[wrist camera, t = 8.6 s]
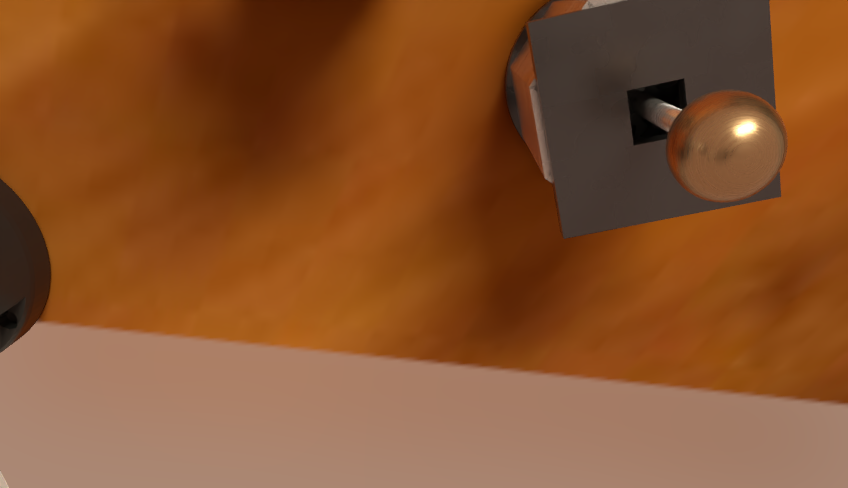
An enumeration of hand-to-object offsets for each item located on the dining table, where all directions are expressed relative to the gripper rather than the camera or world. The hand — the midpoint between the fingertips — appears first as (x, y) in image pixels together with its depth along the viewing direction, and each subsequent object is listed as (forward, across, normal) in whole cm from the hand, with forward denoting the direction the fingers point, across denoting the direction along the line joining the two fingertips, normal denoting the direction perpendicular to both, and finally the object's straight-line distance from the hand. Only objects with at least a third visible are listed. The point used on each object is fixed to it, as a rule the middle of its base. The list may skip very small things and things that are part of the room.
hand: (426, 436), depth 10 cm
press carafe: (+34, +10, 0) cm, 36 cm away
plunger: (+31, +10, -1) cm, 33 cm away
